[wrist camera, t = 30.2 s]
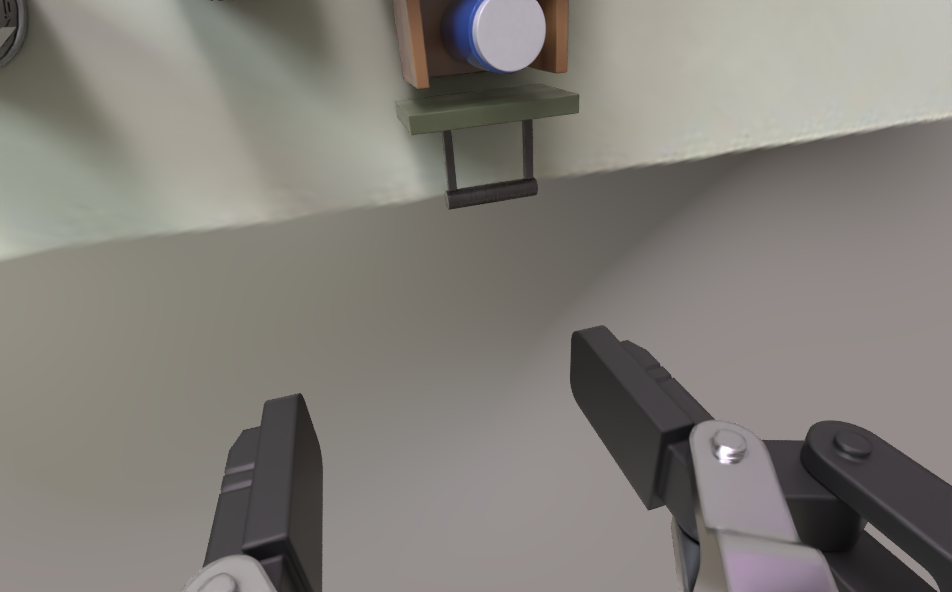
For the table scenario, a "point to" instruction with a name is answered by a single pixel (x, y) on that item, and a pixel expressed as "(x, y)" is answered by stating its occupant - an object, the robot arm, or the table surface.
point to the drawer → (477, 93)
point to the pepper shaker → (493, 33)
